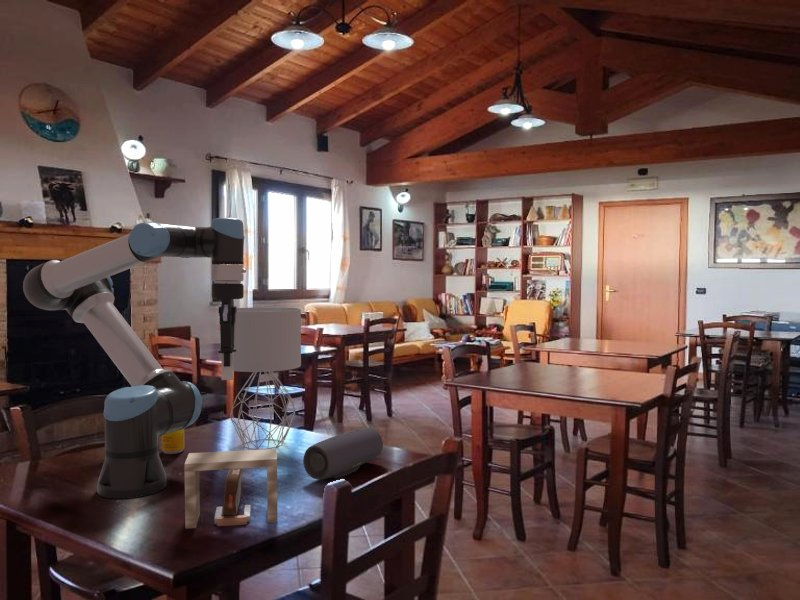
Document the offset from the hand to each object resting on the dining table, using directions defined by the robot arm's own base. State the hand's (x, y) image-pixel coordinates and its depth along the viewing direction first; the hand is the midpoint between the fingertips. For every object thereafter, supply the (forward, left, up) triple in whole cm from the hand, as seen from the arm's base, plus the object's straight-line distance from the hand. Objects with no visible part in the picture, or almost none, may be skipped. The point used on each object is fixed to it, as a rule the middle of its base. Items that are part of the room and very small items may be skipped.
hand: (227, 379), depth 162 cm
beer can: (-17, +30, -25) cm, 42 cm away
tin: (+2, -21, -25) cm, 33 cm away
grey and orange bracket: (+2, -26, -25) cm, 36 cm away
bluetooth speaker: (+29, +1, -25) cm, 38 cm away
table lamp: (+8, +33, -25) cm, 42 cm away
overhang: (+2, -26, -25) cm, 36 cm away
